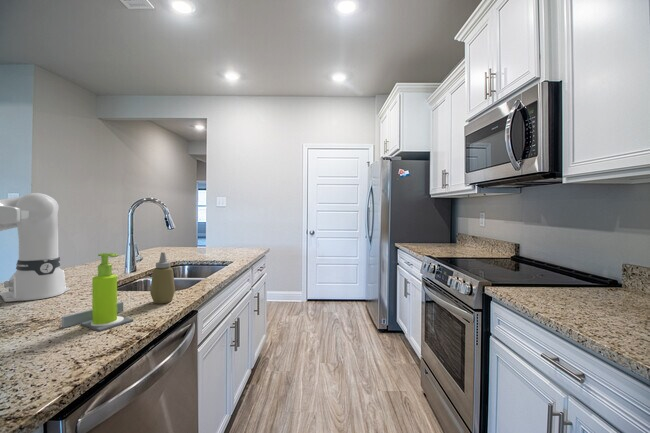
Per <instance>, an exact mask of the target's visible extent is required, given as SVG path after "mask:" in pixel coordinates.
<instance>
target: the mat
mask: <svg viewBox="0 0 650 433" xmlns="http://www.w3.org/2000/svg"><path fill="white" fill-rule="evenodd" d="M131 322H134V319H133V318H129V317H126V316H123V315H119V314H117V320H115V321H113V322H110V323H106V324H93V320H90V321H86V322H83V323H80V325H81V326H84V327H87V328H89V329H92V330H95V331H97V332H103V331H105V330H108V329H112V328H115V327H119V326H122V325H124V324H125V325H126V324H128V323H131Z"/></svg>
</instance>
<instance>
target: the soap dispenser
mask: <svg viewBox="0 0 650 433" xmlns="http://www.w3.org/2000/svg"><path fill="white" fill-rule="evenodd" d="M119 256H120V255H119V254H117V253H113V252H105V253H104V252H101V253H98V254H97V257H101V258H100V259H101V260H100V262H101V263H99V264H98V265H97V275H96V276H92V278H91V279H92V280H91V282H92V286H91V288H92V289H91V290H92V292H91V294H92V295H91V296H92V308H91V309H92V318H93V324H106V323H110V322H113V321H115V320H117V315H118V313H117V303H118V275H117V274H113V264H112V263H110V262H109V258H115V257H119Z"/></svg>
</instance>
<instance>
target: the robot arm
mask: <svg viewBox="0 0 650 433" xmlns="http://www.w3.org/2000/svg"><path fill="white" fill-rule="evenodd" d="M59 210H60V206H59V203H58V202H57V200H56V199H55V198H53V196H50V195H48V194H45V193H41V192H32V193H31V192H30V193H27V194H25V195H23V196H16V197H8V198H2V199H0V232H2V231H7V230H11V229H16V228H17V236H18V259H17V261H16V266H15V267H16V268H15V272H14V273H13V275H11V277H10V278H9V279H8V280H6V281H4V283H3V284H4V285H3V287H4V288H5V289H6V288H8V290H3V291H1V292H0V296H1V299H3V301H4V302H16V301H17V302H19V301H34V300H40V299H47V298H52V297H57V296H60V295H62V294H64V293H66V292H68V291H70V287H68V286H66V285H67V284H66V277H65V276H66V275H65V270H63V269H62V268H60V266H61V258H60V256H59V254H60V253H59V222H58V221H59V220H58V219H59V218H58V216H59V214H58V213H59Z"/></svg>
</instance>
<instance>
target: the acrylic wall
mask: <svg viewBox="0 0 650 433" xmlns="http://www.w3.org/2000/svg"><path fill="white" fill-rule="evenodd" d="M123 312H124V302H123V301H120V302H118V301H117V314H119V313H123ZM90 320H93V318H92V308H91V309H87V310H82V311H79V312H78V311H77V312H75V313H71V314H67V315H63V316H61V328H63V329H65V328H69V327H71V326H75V325H76V326H77V325H79V324H80V325H81V323H83V322H86V321H90Z"/></svg>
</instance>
